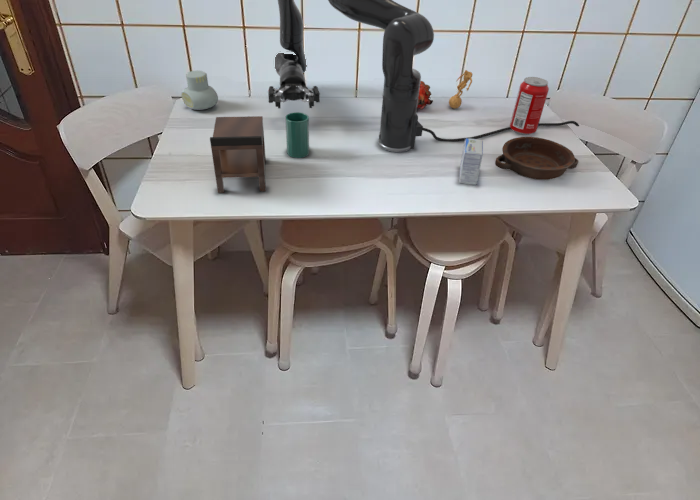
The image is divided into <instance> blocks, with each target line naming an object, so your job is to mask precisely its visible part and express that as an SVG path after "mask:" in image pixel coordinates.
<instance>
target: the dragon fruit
mask: <svg viewBox="0 0 700 500" xmlns="http://www.w3.org/2000/svg"><path fill="white" fill-rule="evenodd" d="M430 90H431V85H429V84H426V83H425V81H423V80H421V82H420V89H419V97H418V105H417V109H420V110H423V109H424V108H426V106H430V105H432V104H433V103H434V99H431V98H432V96H431V95H432V92H431V91H430Z"/></svg>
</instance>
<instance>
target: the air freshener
mask: <svg viewBox="0 0 700 500" xmlns="http://www.w3.org/2000/svg"><path fill="white" fill-rule="evenodd" d="M185 77H186V84H187V87H185V88H184V89H183V90H182V92H181V99H182V102H183V103H184V105H185V106H186V107H188V108H190V109H192V110H193V111H194V110H195V111H202V110H203V111H204V110H208V109H210V108H212V107H214V106H215V105H216V104H217V103H218V102H219V95H218V92H217V91H216V90H215V89H214V88H213V87H212V86H211V85H209V81H208V74H207V73H206V72H205V71H203V70H191V71H188V72H187V73H186V74H185Z"/></svg>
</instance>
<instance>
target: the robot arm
mask: <svg viewBox="0 0 700 500" xmlns="http://www.w3.org/2000/svg"><path fill="white" fill-rule="evenodd" d="M327 1H328V3H329V4H330V6H331V7H332V8H333V9H335V10H336V11H337V12H339V13H340V14H342V15H343V16H345V17H346V18H348V19H350V20H352V21H353V22H356V23H360V24H364V25H367V26H372V27H376V28H379V29H382V30H384V32H383V36H382V53H381V54H382V57H381V60H382V61H381V67H382V74H383V91H382V101H381V115H380V124H379V125H380V126H379V135H378V146H379V147H380V148H381V149H382V150H385V151H388V152H392V153H404V152H407V151H410V150H415V144H416V137H422V136H423V132H426V133H428V134H430V135H431V136H432V137H433V139H434V140H436V141H438V142H447V143H448V142H449V143H455V142H465V139H466V138H470V139H478V140H479V139H481V138H485V137H488V136H492V135H496V134H499V133H502V132H506V131H510V130H511V131H512V129H511V127H510V126H509V127H504V128H500V129H497V130H494V131H489V132H486V133H481V134H479V135H474V136H469V137H460V138H459V137H458V138H442V137H439V136H437V134H436V133H435V132H434V131H433V130H431V129H430V128H426V127H424V126H423V125H422V124H421V122H420V121H419V115H418V113H417V112H418V108H417V105H418V97H419V89H420V82H421V81H422V75H421V72H419V70H417V69H415V68H413V67H414V57H415V56H417V55H420V54H422V53H424V52H426V51H427V50H428V49H430V47H431V46H432V45H433V43H434V41H435V40H434V39H435V33H434V31H435V30H434V28H433V25H432V23H431V22H430V20H429V19H428V18H427V17H425V15H423V14H421V13H420V12H417V11H415V10H414V9H411V8H408V7H406V6H404V5H402V4H400V3H398V2H396V1H394V0H327ZM277 4H278V11H279V44H280V46H281V48H283V49H284V50H285V51H288V52H294V53H295V54H296V55H293V54H284V53H278V52H277V53H278V54H277V53H276V54H277V55H276V54H275V55H276V57H275V56H274V57H275V67H274V70H275V69H276V70H275V72H276V74H277V75H278V76H279V87H278V88H275V87H274V86H273V85H271V86H269V87H268V92H267V94H268V95H267V96H268V97H267V98H268V103H269V104H273V103H274V106H275V107H276V108H277V109H282V107H281V103H286V102H287V101H301V102H303V103H308V108H309V109H313V107H315V103H320V102H321V98H320V97H321V96H320V95H321V92H320V90H319V87H318V86H317V85H313V86H312V87H311V88H309V87H308V86H307V83H306V78H305V75H304V74H305V73H306V72H305V71H307V70H306V67H307V68H308V64H307V65H306V60H307V58H306V59H305V56H306V53H305V49H304V20H303V19H304V18H303V16H302V13H301V11H300V9H299V8H298V6H297V4H296V2H295V0H277ZM304 53H305V54H304ZM304 72H305V73H304ZM303 73H304V74H303ZM566 125H574V126H576V127H580V124H579V123H578V122H577V121H575V120H568V121H563V122H553V123H552V122H551V123H550V122H539V125H538V127H561V126H566Z"/></svg>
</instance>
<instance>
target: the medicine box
mask: <svg viewBox="0 0 700 500" xmlns="http://www.w3.org/2000/svg"><path fill="white" fill-rule="evenodd" d="M465 138H466V139H465V141H464V143H463V149H462V155H461V158H460V159H461V160H460V165H459V175H458V176H459V178H458V179H459V180H458V184H465V185H473V186H476V185H478V181H479V174H480V171H481V165H482V161H483V157H484V141H483V140H482V139H479V138H478V139H470V138H468V137H465Z"/></svg>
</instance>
